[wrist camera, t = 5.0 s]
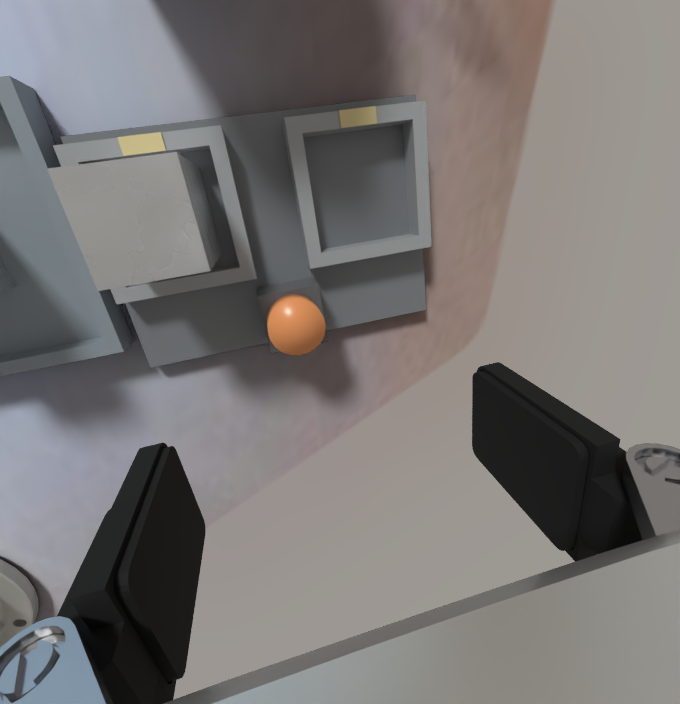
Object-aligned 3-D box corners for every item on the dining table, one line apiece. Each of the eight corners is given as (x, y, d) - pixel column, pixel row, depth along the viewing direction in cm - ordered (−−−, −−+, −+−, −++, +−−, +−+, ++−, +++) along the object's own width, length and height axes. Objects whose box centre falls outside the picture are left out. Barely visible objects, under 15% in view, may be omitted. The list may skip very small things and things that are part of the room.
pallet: (420, 306, 27) (442, 319, 24) (154, 361, 24) (139, 385, 21) (408, 99, 22) (435, 81, 19) (69, 140, 19) (32, 126, 16)
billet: (222, 252, 22) (210, 271, 15) (140, 266, 21) (92, 292, 15) (200, 168, 20) (176, 151, 14) (110, 181, 19) (40, 169, 13)
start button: (324, 339, 22) (329, 348, 21) (273, 350, 22) (274, 360, 21) (315, 288, 21) (320, 295, 20) (261, 299, 21) (261, 306, 19)
